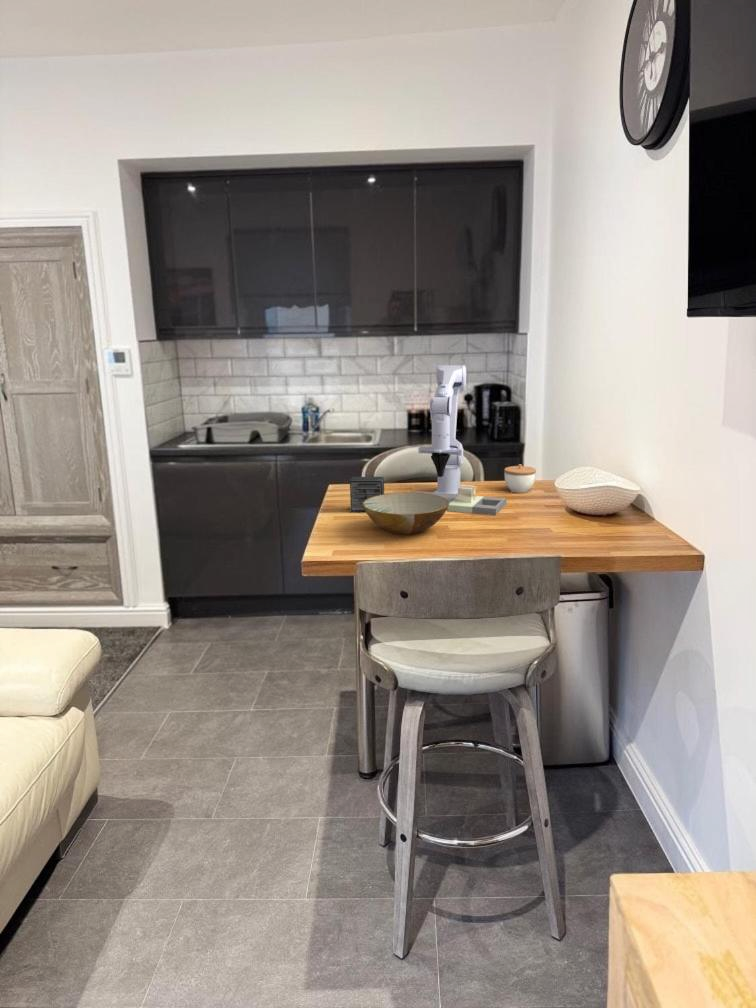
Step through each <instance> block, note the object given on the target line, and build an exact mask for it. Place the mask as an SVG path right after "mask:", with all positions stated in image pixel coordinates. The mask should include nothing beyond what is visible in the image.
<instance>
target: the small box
mask: <svg viewBox="0 0 756 1008" xmlns="http://www.w3.org/2000/svg"><path fill="white" fill-rule="evenodd" d="M349 492H350V493H349V494H350V513H366V511H365V510H364V508H363V506H362V503H363V501H364V500H366V499H368V498H370V497H373V496H377V495H382V494H385V477H384V476H352V477H351V478H350V479H349Z"/></svg>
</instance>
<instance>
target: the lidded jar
mask: <svg viewBox="0 0 756 1008" xmlns="http://www.w3.org/2000/svg"><path fill="white" fill-rule="evenodd" d="M536 471H537V469H536V468H535V467H531V466H526V465H522V464H520V463H519V464H518V465H512V466H508V467H505V468H504V481H505V486H507V488H508V489H509V490H510V492H512V493H516V492H517V493H518V494H519V493H520V494H521V493H522V494H524V493H528V492H529V490H530V489H531V488H532V487H533V486H534V484H535V481H536Z"/></svg>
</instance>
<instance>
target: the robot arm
mask: <svg viewBox="0 0 756 1008" xmlns="http://www.w3.org/2000/svg"><path fill="white" fill-rule="evenodd" d="M435 373H436V375H435V376H436V377H435V378H436V382H437V387H436V389H435V393H434V396H433V397H432V398H431V399H430V400H429V412H430V421H431V446H419V447H418V448H417V449H418V450H417V451H418V454H428V455H429V454H431V456H430V459H431V460H432V463H433V465H434V467H435V471H436V473H437V489H436V490H434V491H433V493H445V494H458V488H459V487H460V486H461V469H460V468H459V467H461V466H463V463H464V447H463V444H462V443H461V442H460V441H459V440H458V439H456V437H457V436H456V435H457V434H456V433H457V419H458V406H459V405H458V403H459V398H460V394H461V393H463V392H464V391H465V390H466V385H467V367H466V365H465V364H462V365H461V364H460V365H459V364H458V365H456V364H454V365H453V364H452V365H443V364H442V365H441V364H439V365H438V366H437V367H436V372H435Z"/></svg>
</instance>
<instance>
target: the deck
mask: <svg viewBox="0 0 756 1008" xmlns="http://www.w3.org/2000/svg"><path fill="white" fill-rule="evenodd" d="M412 492H413V493H425V494H432V495H436V496H440V497H443V498H445V499H447V500H448V501H449V506H448V508H447V511H446V512H454V511H456V512H455V513H457V512H458V513H468V514H477V513H478V515H488V514H490V516H496V514H497V513H500V511H502V510H503V508H504V507H505V506H506V505H507V497H493V496H483V495H482V496H480V495H475V500H474V501H473V502H472V503H467V502H458V493H457V494H445V493H434V491H433V492H429V491H420V490H419V491H418V490H414V491H412ZM497 515H498V514H497Z"/></svg>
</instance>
